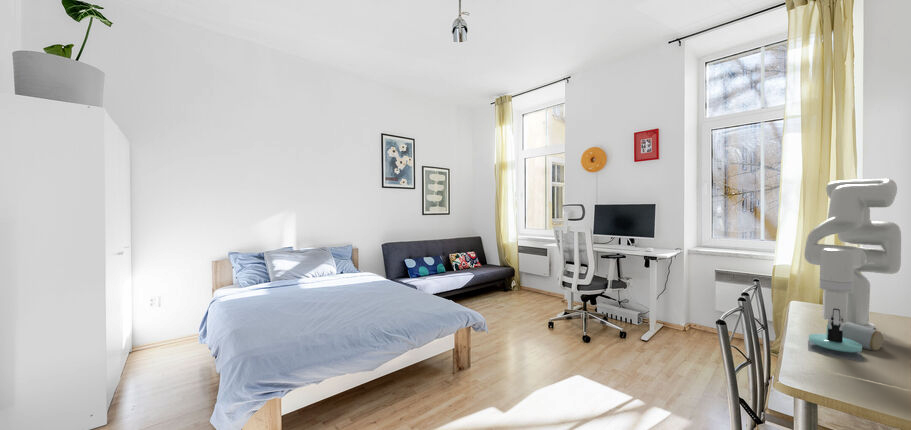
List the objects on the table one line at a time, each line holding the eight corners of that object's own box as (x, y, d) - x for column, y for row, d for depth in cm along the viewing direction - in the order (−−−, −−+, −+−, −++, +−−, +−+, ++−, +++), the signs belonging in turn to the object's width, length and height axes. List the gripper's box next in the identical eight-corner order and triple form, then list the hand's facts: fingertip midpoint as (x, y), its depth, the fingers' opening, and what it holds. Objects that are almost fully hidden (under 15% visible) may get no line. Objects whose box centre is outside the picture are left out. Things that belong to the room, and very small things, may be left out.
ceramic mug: (873, 353, 112) (874, 330, 112) (838, 344, 120) (839, 322, 120) (888, 349, 116) (889, 327, 116) (853, 340, 124) (854, 319, 123)
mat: (807, 341, 122) (807, 340, 122) (859, 351, 114) (859, 350, 114) (808, 351, 114) (808, 350, 114) (863, 363, 105) (863, 362, 105)
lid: (808, 334, 123) (808, 317, 123) (859, 343, 114) (860, 325, 114) (808, 344, 114) (809, 326, 114) (864, 356, 106) (864, 336, 106)
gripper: (818, 279, 122) (817, 329, 123) (820, 288, 110) (818, 344, 111) (850, 282, 116) (849, 334, 117) (856, 292, 105) (854, 351, 106)
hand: (834, 338), depth 114 cm, fingers closed on lid, 3 cm apart
